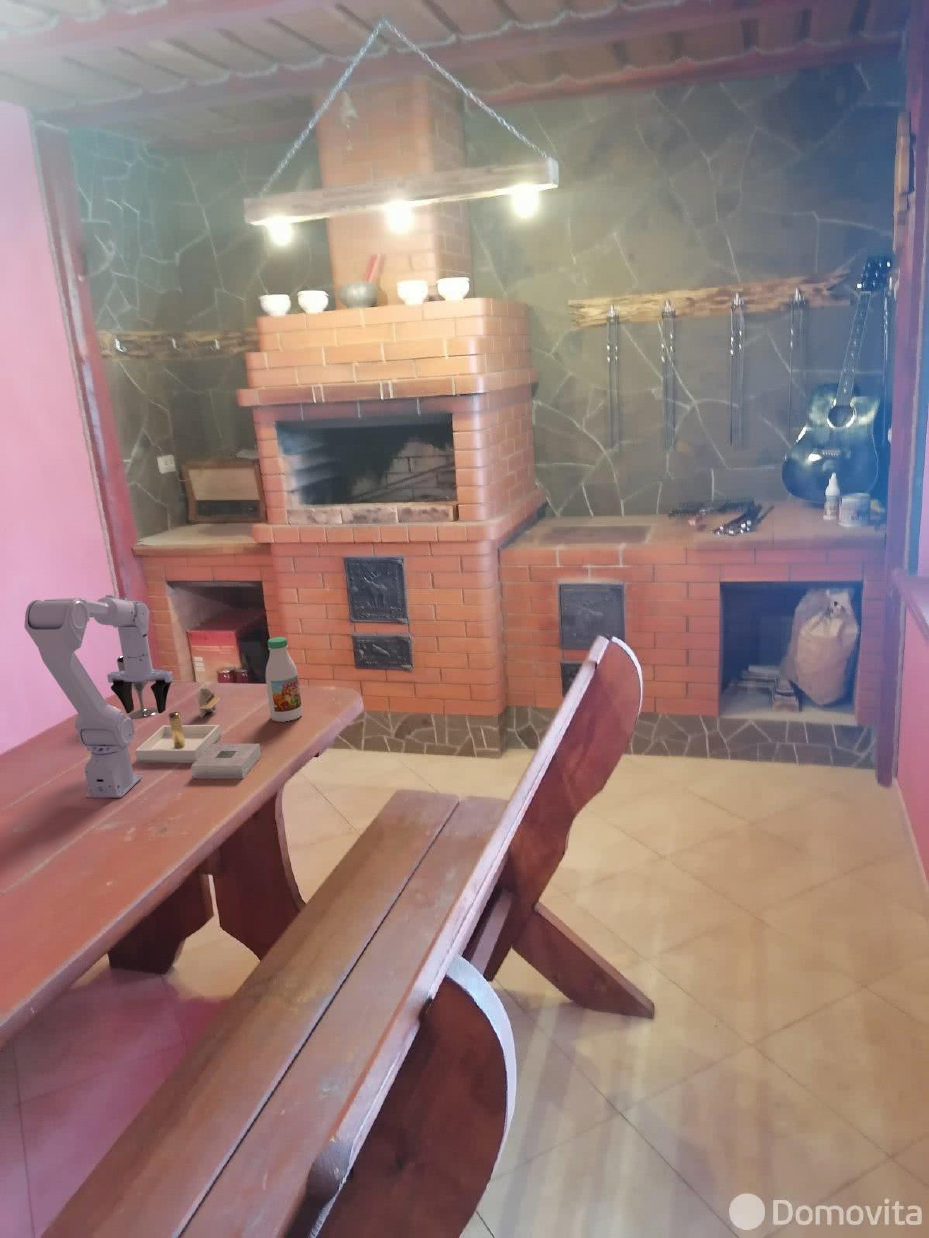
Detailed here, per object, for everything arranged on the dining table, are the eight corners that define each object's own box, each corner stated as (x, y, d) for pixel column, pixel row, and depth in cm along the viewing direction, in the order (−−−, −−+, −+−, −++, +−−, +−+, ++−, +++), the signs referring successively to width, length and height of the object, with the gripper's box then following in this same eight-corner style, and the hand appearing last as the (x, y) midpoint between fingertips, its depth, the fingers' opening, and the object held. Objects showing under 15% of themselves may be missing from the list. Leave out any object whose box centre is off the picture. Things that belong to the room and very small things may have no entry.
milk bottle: (265, 721, 218) (254, 643, 213) (280, 709, 225) (270, 633, 220) (293, 723, 216) (283, 644, 210) (308, 711, 223) (299, 634, 217)
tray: (196, 762, 198) (194, 750, 197) (137, 762, 200) (134, 750, 199) (221, 736, 211) (219, 724, 210) (165, 737, 213) (163, 725, 212)
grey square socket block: (243, 778, 189) (241, 765, 188) (193, 778, 190) (191, 765, 189) (261, 756, 199) (259, 743, 198) (213, 756, 201) (212, 743, 200)
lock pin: (183, 748, 204) (177, 715, 202) (172, 748, 204) (167, 716, 202) (186, 743, 206) (181, 711, 204) (176, 744, 206) (170, 712, 204)
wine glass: (164, 706, 232) (155, 651, 228) (151, 718, 225) (141, 662, 221) (135, 707, 233) (125, 652, 229) (121, 719, 226) (110, 663, 221)
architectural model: (222, 710, 229) (218, 682, 227) (212, 720, 222) (208, 692, 220) (209, 710, 229) (205, 683, 227) (199, 721, 223) (195, 693, 220)
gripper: (175, 647, 200) (184, 704, 203) (115, 648, 202) (125, 705, 206) (160, 658, 193) (170, 716, 197) (98, 658, 195) (109, 716, 199)
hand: (146, 711), depth 201 cm, fingers open, 7 cm apart
